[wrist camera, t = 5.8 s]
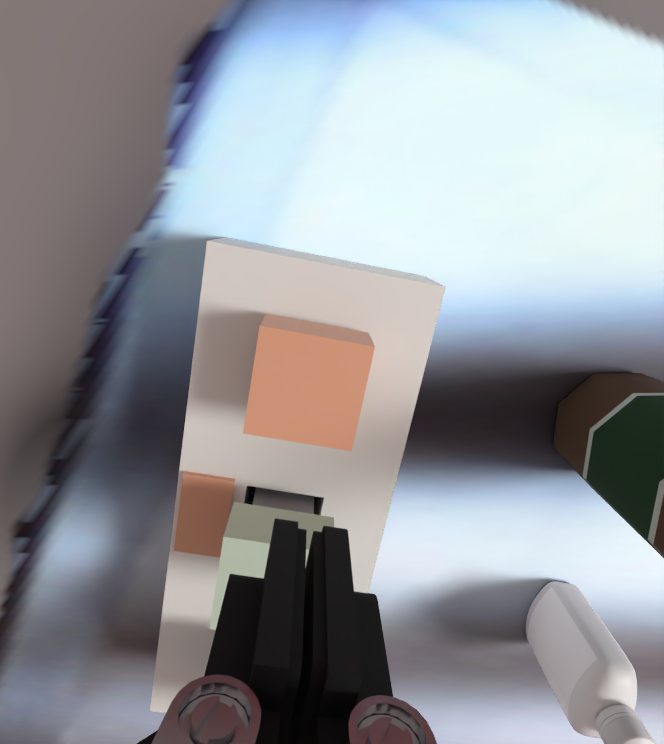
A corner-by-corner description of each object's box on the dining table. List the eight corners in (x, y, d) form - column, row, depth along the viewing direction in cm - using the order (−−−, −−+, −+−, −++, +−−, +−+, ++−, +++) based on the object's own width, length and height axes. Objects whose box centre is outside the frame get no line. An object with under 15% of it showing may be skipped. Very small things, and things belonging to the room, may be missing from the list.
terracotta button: (343, 395, 32) (351, 451, 24) (261, 381, 32) (242, 433, 24) (360, 315, 31) (374, 346, 23) (274, 298, 30) (259, 325, 22)
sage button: (315, 543, 33) (315, 643, 25) (234, 531, 32) (209, 628, 25) (331, 471, 31) (335, 553, 24) (246, 457, 31) (223, 536, 23)
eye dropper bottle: (502, 618, 38) (583, 792, 26) (559, 569, 37) (669, 728, 25) (541, 649, 39) (635, 829, 27) (598, 602, 38) (721, 770, 26)
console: (330, 669, 39) (332, 737, 34) (171, 648, 38) (148, 715, 33) (425, 276, 31) (446, 287, 25) (224, 237, 30) (205, 240, 25)
